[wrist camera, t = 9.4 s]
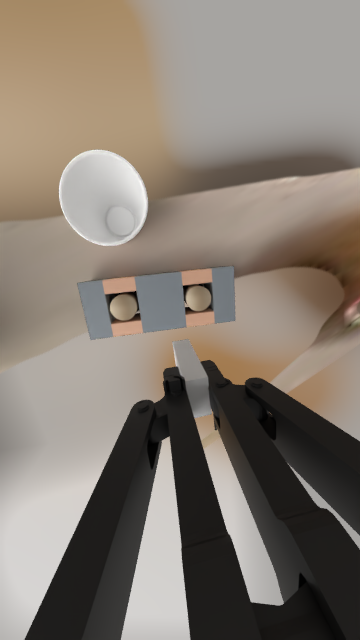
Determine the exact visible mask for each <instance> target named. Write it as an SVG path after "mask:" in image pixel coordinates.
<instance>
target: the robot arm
mask: <svg viewBox="0 0 360 640" xmlns="http://www.w3.org/2000/svg"><path fill="white" fill-rule="evenodd" d="M172 343H173V349H174V356H175V363H176V367H172V368H166V369H165V370H164V372H163V375H164V381H163V385H164V391H165V396H164V397H163V398H162V399H161V400H160V401H158V402H156V403H153V401H151V400H142V401H139V402H137V403H136V404H135V405H134V406H133V407H132V409H131V411H130V414H129V415H128V418H127V420H126V422H125V424H124V426H123V428H122V430H121V433H120V435H119V437H118V439H117V441H116V443H115V446H114V448H113V450H112V452H111V454H110V457H109V459H108V461H107V463H106V465H105V467H104V469H103V472H102V474H101V476H100V478H99V480H98V482H97V484H96V487H95V489H94V491H93V493H92V495H91V497H90V500H89V502H88V504H87V506H86V508H85V510H84V513H83V515H82V517H81V519H80V521H79V523H78V526H77V528H76V530H75V532H74V534H73V536H72V538H71V540H70V543H69V545H68V547H67V549H66V551H65V553H64V556H63V558H62V560H61V562H60V564H59V566H58V569H57V571H56V573H55V575H54V577H53V579H52V582H51V584H50V586H49V588H48V590H47V592H46V594H45V597H44V599H43V601H42V603H41V605H40V607H39V609H38V612H37V614H36V616H35V619H34V620H33V622H32V625H31V627H30V629H29V631H28V633H27V636H26V638H25V640H121V635H122V630H123V625H124V621H125V615H126V611H127V606H128V602H129V597H130V592H131V587H132V582H133V577H134V573H135V568H136V564H137V559H138V553H139V549H140V544H141V539H142V535H143V530H144V525H145V521H146V516H147V511H148V506H149V502H150V497H151V492H152V487H153V482H154V478H155V473H156V468H157V464H158V459H159V454H160V449H161V443H162V440H163V439H165V438H167V437H169V436H170V443H171V453H172V461H173V471H174V479H175V489H176V497H177V507H178V516H179V525H180V534H181V543H182V549H181V550H182V563H183V573H184V582H185V591H186V600H187V609H188V620H189V629H190V638H191V640H360V550H359V548H358V547H357V545H356V544H355V542H354V541H353V540H352V538H351V537H350V536H349V534H348V533H347V532H346V530H345V529H344V528H343V526H342V525H341V524H340V522H339V521H338V520H337V518H336V517H335V516H334V515H333V514H332V513H331V512H330V511H329V510H327V509H324V508H320V507H318V506H317V505H316V503H314V501H313V500H312V498H311V497H310V495H309V494H308V492H307V491H306V489H305V488H304V487H303V485H302V484H301V482H300V481H299V479H298V478H297V477H296V475H295V474H294V472H293V471H292V469H291V468H290V466H291V467H292V468H294V470H295V471H296V472H297V473H298V474H299V475H300V476H301V477H302V478H303V479H304V480H305V481H306V482H307V483H308V484H310V486H311V487H312V488H313V489H314V490H315V491H316V492H317V493H318V494H319V495H320V496H321V497H322V498H323V499H324V500H325V501H326V502H327V503H328V504H329V505H330V506H331V507H332V508H333V509H334V510H335V511H336V512H337V513H338V514H339V515H340V516H341V517H342V518H343V519H344V520H345V521H346V522H347V523H348V524H349V525H350V526H351V527H352V528H353V529H354V530H355V531H356V532H357V533H358V534H359V535H360V441H358V440H357V439H355V438H354V437H352V436H351V435H349V434H348V433H346V432H344V431H343V430H341V429H340V428H338V427H337V426H335V425H334V424H332V423H330V422H329V421H327V420H326V419H324V418H323V417H321V416H320V415H318V414H317V413H315V412H313V411H312V410H310V409H309V408H307V407H306V406H304V405H303V404H301V403H299V402H298V401H296V400H295V399H293V398H292V397H290V396H289V395H287V394H286V393H284V392H282V391H281V390H279V389H278V388H276V387H275V386H273V385H272V384H270V383H268V382H267V381H265V380H263V379H261V378H249V379H248V380H246V382H245V385H235V384H232V382H231V381H230V380H228V379H226V378H224V377H223V375H222V374H221V372H220V371H219V370H218V368H217V366H216V365H215V363H214V362H212V361H211V360H207V361H202V362H200V361H199V359H198V357H197V355H196V353H195V351H194V349H193V347H192V345H191V344H190V341H189V339H185V340H180V341H174V342H172ZM211 409H212V411H213V416H214V425H215V430H217V429H218V431H219V434H220V436H221V439H222V441H223V444H224V446H225V449H226V451H227V453H228V456H229V458H230V461H231V463H232V466H233V468H234V470H235V473H236V476H237V478H238V481H239V483H240V485H241V488H242V490H243V493H244V495H245V498H246V500H247V503H248V505H249V508H250V510H251V513H252V515H253V518H254V520H255V522H256V525H257V528H258V530H259V533H260V535H261V538H262V540H263V542H264V545H265V547H266V550H267V552H268V555H269V557H270V560H271V562H272V565H273V567H274V570H275V573H276V576H277V579H278V583H279V587H280V591H281V595H282V598H283V601H284V604H283V605H280V606H276V605H268V604H260V603H252V602H250V598H249V595H248V592H247V588H246V585H245V581H244V578H243V575H242V572H241V568H240V565H239V561H238V558H237V555H236V551H235V548H234V545H233V542H232V539H231V537H230V535H229V534H228V532H227V530H226V526H225V523H224V519H223V516H222V513H221V509H220V506H219V502H218V499H217V495H216V492H215V488H214V485H213V481H212V478H211V474H210V471H209V468H208V464H207V460H206V457H205V454H204V450H203V446H202V443H201V439H200V436H199V433H198V429H197V426H196V422H195V419H194V418H197V417H202V416H206V415H211V414H212V412H211ZM269 412H270V413H271V414H272V415H271V414H270V413H269ZM288 464H289V465H290V466H289V465H288Z"/></svg>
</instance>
